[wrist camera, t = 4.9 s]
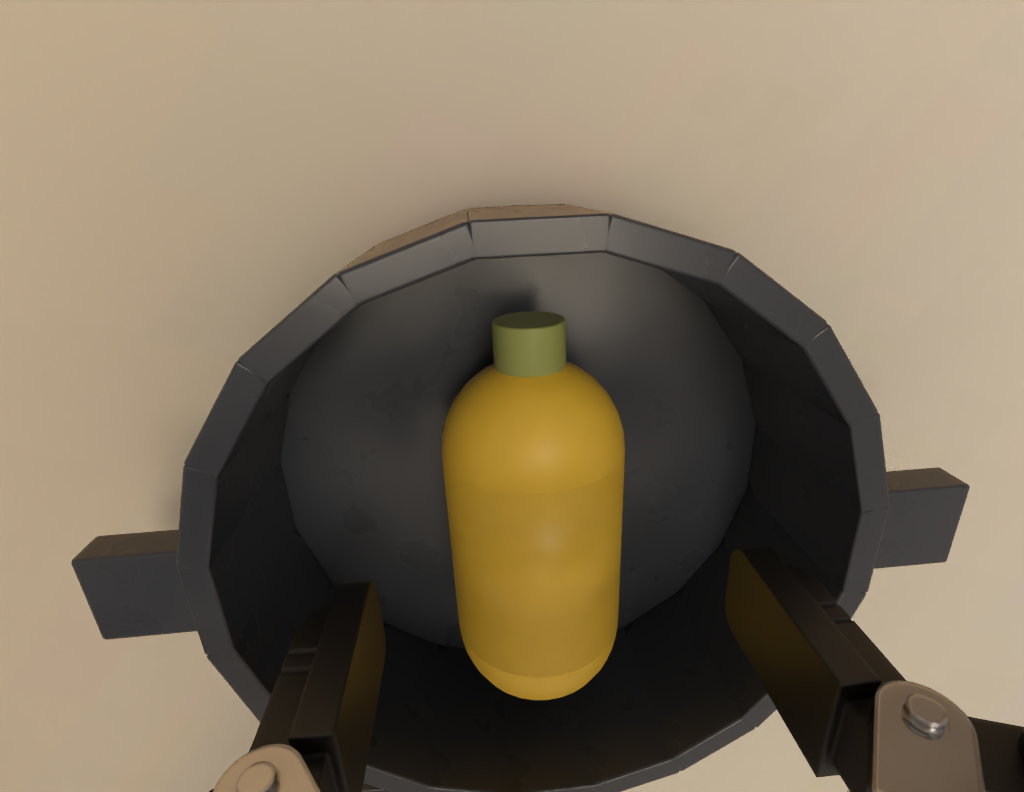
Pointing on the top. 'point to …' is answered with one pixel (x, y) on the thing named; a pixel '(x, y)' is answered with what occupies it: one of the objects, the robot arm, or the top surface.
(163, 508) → the top surface
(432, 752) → the pan
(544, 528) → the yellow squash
